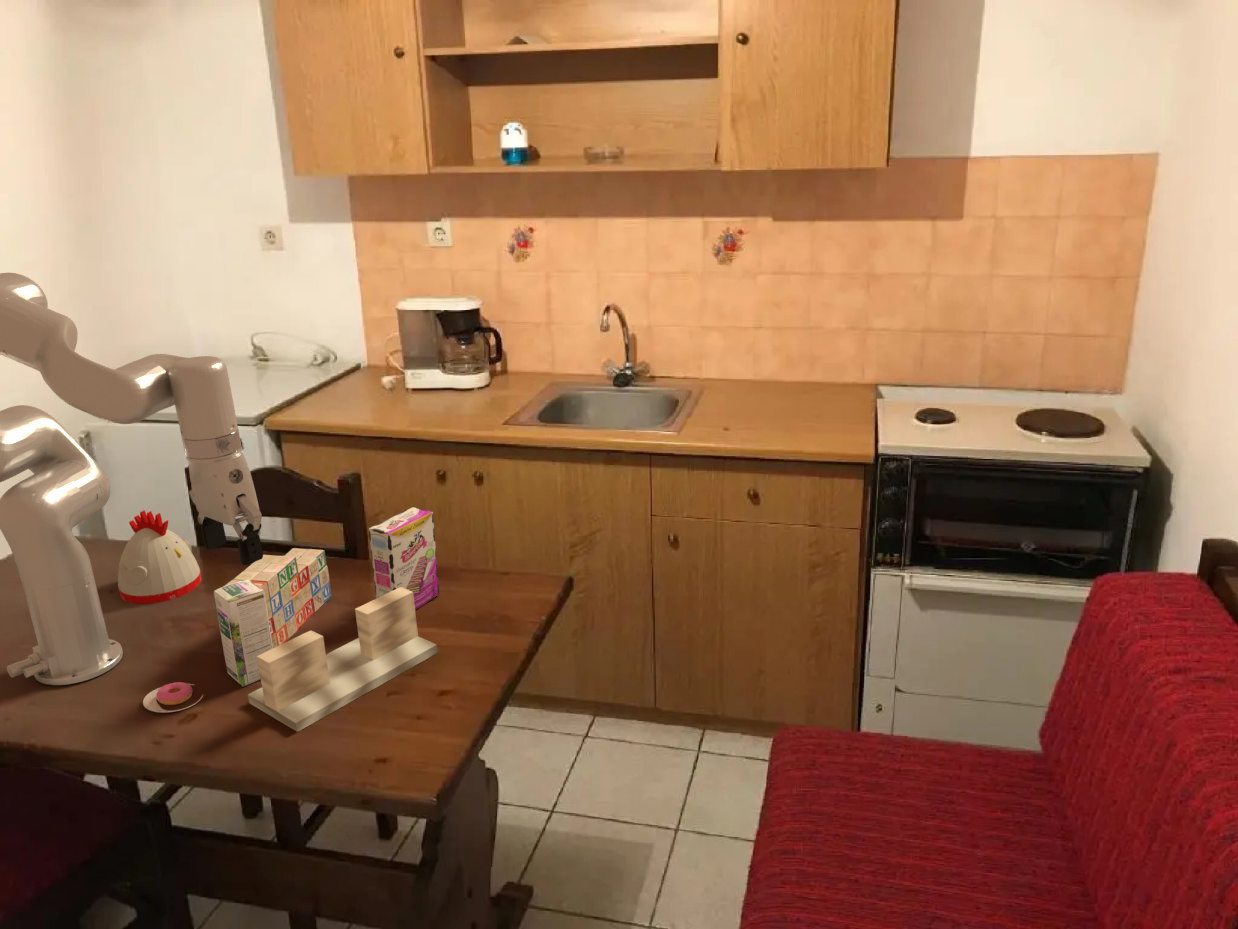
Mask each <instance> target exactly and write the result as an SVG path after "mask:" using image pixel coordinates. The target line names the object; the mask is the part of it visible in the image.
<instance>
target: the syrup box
mask: <svg viewBox="0 0 1238 929" xmlns="http://www.w3.org/2000/svg"><path fill="white" fill-rule="evenodd" d="M225 585H226V584H225ZM225 585H223V586H222V587H221V586H220V587H219V588H217V589H215V590H214V591H213V596H214V601H215V605H216V614H217V619H218V625H219V626H218V627H219V633H220V637H221V643H222V649H223V650H222V651H223V655H224V660H225V666H226V670H227V674H228V675H229V676H231V678H233V680H234V681H235V682H237V683H238V684H239V685H240V686H241V687H245V686H249V685H250V684H253V683H255V682H257V681H261V678H260V672H259V667H258V661H257V656H259V655H261V654H263V653H265V652H267V651H269V650H271V649H273V644H272V638H271V632H270V625H269V619H268V612H267V606H266V600H265V594H264V590H262V589H260V588H259V587H258V586H257V585H255V584H254V583H252V582H251V581H250V580H244V581H239V582H235V583H232V584H229V585H226V586H225Z"/></svg>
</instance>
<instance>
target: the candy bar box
mask: <svg viewBox="0 0 1238 929" xmlns="http://www.w3.org/2000/svg"><path fill="white" fill-rule="evenodd" d="M434 522H435V521H434V512H433V511H431V510H427V509H422V508H418V507H410V508H409V509H406V510H404V511H402V512H400V513H397V514H396V515H393V516H392V517H390V518H388V519H386V520H383V521H382V522H380V523H378V524H375V525H373V526H371V527H369V528H368V536H369V544H370V554H371V562H372V570H373V571H372V572H373V581H374V592H375V599H377V598H379V597H381V596H383V595H385V594H387V593H389V592H391V591H393V590H395V589H397V588H399V587H402V588H405V589H407V590H410V591H412V592H413V596H414V605H415V611H416V610H418V609H419V608H421V607H423V606H424V605H426V604H427V603H430V601H432V600H434V599H436V598H437V597H439V596H440V584H439V573H438V572H439V570H438V560H437V551H436V550H437V549H436V535H435V523H434ZM438 595H439V596H438ZM436 596H437V597H436ZM435 597H436V598H435Z"/></svg>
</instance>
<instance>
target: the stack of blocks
mask: <svg viewBox="0 0 1238 929" xmlns="http://www.w3.org/2000/svg"><path fill="white" fill-rule="evenodd" d="M244 580H250V581H251V582H252V583H254V584H255V585H257V586H258V587H259V588H260V589H262V590H264V594H265V600H266V606H267V612H268V619H269V625H270V632H271V638H272V644H273V648H275V647H277V646H279V645H281V644H283V643H285V642H288V641H289V639H291V637H292V636H293V635H294V634H296V632H297V631H298V629H300V627H302V626H303V625H304V624H305V623H306V622H307V621H308V619H310V618H311V617H312V616H313V615H314V614H315V613H316V612H317V611H318V610H319V609H320V608H321V607H322V606H323V605H324V604H325V603H327V601H329V599H330V598H331V597H332V595H333V594H332V589H331V582H330V574H329V568H328V565H327V560H326V552H325V550H323V549H314V548H313V549H312V548H297V547H294V548H293V547H292V548H291V549H290V550H289V551H288V552H287V553H286V554H285V555H270V554H263V558H262V559H260V560H258V561H255V562H253V563H251V564H249V566H248V567H246V568H245V570H243V571H241V573H239V574H238V575H237V576H235V577H234V578H233V579H232V580H230V581H229V582H227V583H226V584H225V585H224V586H226V585H229V584H232V583H235V582H239V581H244Z"/></svg>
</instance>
